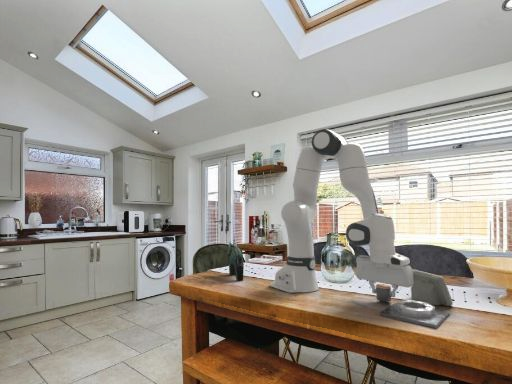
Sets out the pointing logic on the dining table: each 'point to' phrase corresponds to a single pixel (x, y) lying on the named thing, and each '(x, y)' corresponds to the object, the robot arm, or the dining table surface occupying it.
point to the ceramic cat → (235, 261)
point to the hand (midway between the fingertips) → (383, 294)
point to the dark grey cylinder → (383, 292)
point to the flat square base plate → (416, 313)
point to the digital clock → (430, 289)
